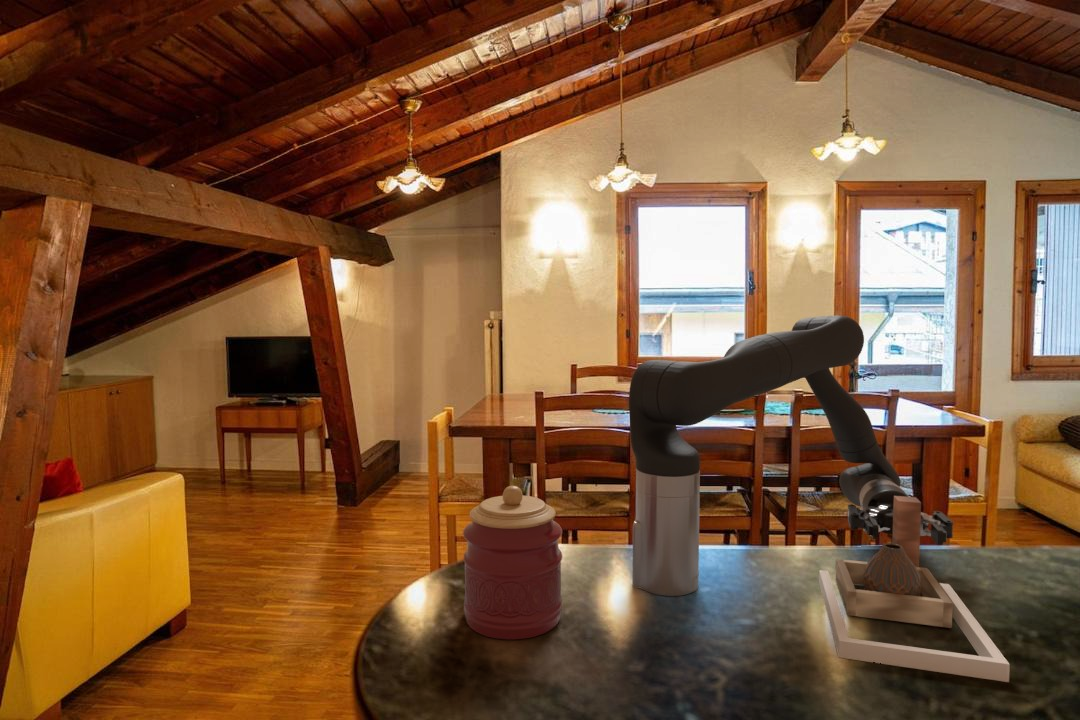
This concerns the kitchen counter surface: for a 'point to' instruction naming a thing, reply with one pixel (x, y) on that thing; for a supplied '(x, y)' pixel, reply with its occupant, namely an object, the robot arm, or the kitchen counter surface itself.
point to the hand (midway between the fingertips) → (908, 535)
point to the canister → (512, 567)
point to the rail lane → (981, 666)
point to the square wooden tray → (888, 605)
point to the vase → (892, 572)
